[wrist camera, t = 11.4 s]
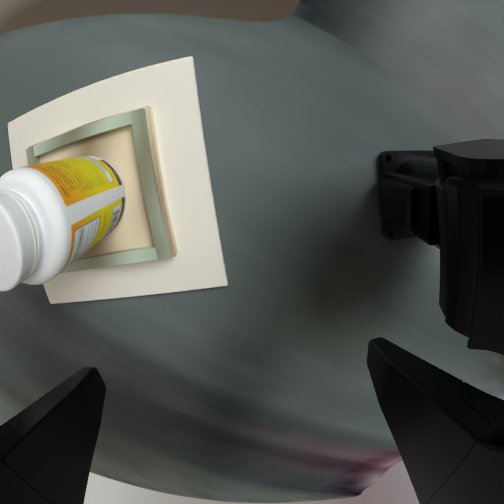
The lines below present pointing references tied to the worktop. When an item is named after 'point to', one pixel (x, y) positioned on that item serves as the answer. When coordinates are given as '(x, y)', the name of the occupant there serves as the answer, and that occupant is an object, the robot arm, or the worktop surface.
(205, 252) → the cream square board
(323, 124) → the worktop surface
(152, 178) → the square wooden tray
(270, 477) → the worktop surface
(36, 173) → the supplement bottle
